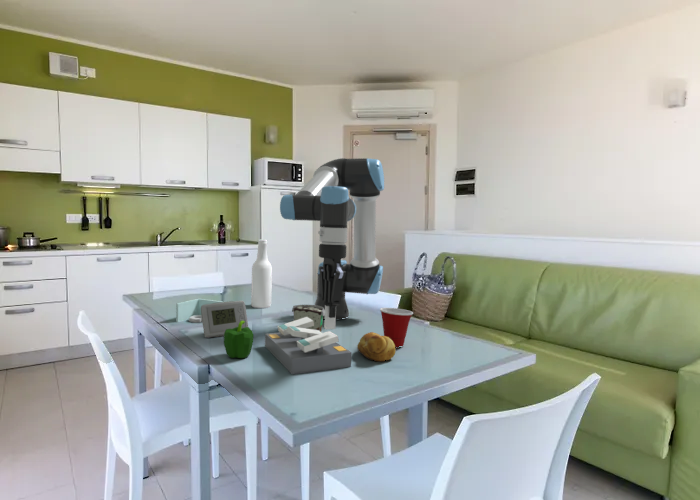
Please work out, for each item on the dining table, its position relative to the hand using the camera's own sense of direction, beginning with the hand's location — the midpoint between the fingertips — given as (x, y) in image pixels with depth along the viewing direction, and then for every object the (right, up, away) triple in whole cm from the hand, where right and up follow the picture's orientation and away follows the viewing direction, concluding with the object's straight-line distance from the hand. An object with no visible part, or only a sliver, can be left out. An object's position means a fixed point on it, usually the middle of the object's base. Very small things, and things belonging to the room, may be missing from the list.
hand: (329, 328), depth 120 cm
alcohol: (-34, -4, +74) cm, 82 cm away
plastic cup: (+20, -10, +21) cm, 31 cm away
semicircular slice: (-8, -8, +30) cm, 32 cm away
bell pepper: (-26, -9, +5) cm, 28 cm away
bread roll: (+13, -10, +9) cm, 19 cm away
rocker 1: (-11, -2, +15) cm, 19 cm away
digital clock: (-37, -7, +28) cm, 47 cm away
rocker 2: (-7, -3, +7) cm, 10 cm away
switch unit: (-7, -9, +7) cm, 14 cm away
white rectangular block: (-3, -3, -1) cm, 5 cm away
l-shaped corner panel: (-51, -6, +44) cm, 68 cm away
